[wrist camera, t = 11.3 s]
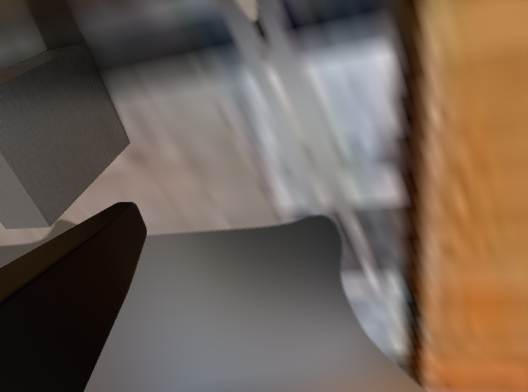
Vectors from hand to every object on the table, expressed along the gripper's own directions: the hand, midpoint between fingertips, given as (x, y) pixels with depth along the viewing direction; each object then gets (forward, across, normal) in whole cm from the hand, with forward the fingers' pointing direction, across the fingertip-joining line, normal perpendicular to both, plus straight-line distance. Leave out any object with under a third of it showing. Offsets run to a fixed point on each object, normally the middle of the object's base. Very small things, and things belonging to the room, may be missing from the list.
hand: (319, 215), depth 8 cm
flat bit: (+12, +14, +1) cm, 19 cm away
